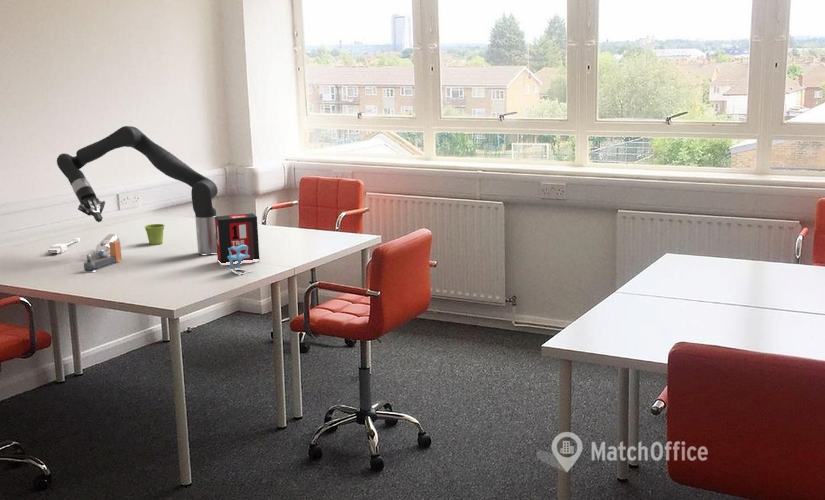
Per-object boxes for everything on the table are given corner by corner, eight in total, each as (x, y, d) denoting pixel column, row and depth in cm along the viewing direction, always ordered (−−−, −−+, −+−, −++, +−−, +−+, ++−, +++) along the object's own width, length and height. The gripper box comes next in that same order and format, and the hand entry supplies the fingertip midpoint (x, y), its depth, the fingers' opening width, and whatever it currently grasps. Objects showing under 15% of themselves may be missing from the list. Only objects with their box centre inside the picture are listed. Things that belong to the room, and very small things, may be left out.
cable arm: (90, 271, 375) (88, 251, 373) (82, 270, 377) (80, 251, 375) (122, 260, 393) (121, 241, 392) (114, 259, 395) (112, 241, 393)
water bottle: (121, 235, 421) (110, 247, 396) (118, 249, 422) (107, 261, 398) (106, 231, 419) (94, 243, 395) (103, 245, 421) (91, 258, 397)
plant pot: (163, 245, 424) (161, 227, 422) (143, 245, 424) (141, 228, 422) (168, 241, 433) (167, 223, 431) (149, 241, 433) (147, 224, 431)
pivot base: (99, 269, 381) (97, 253, 380) (95, 272, 375) (93, 256, 374) (85, 269, 381) (83, 253, 379) (80, 273, 375) (78, 256, 373)
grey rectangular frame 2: (106, 266, 386) (106, 264, 386) (98, 265, 388) (98, 264, 388) (116, 262, 392) (116, 261, 392) (107, 262, 393) (107, 260, 393)
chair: (240, 269, 377) (238, 241, 374) (253, 271, 372) (251, 243, 369) (225, 272, 371) (223, 244, 368) (238, 275, 366) (237, 247, 363)
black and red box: (221, 266, 383) (218, 220, 378) (217, 261, 391) (214, 216, 386) (259, 262, 388) (256, 216, 384) (255, 257, 396) (252, 213, 392)
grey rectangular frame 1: (98, 269, 381) (97, 267, 381) (89, 268, 383) (89, 267, 383) (107, 265, 387) (107, 264, 387) (99, 264, 388) (99, 263, 388)
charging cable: (84, 242, 440) (83, 235, 439) (58, 255, 408) (57, 247, 407) (73, 242, 440) (73, 235, 439) (47, 255, 408) (46, 248, 407)
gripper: (71, 187, 394) (88, 217, 389) (99, 183, 404) (116, 213, 398) (67, 198, 399) (83, 228, 394) (94, 194, 408) (111, 223, 403)
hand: (100, 220), depth 396 cm, fingers closed
